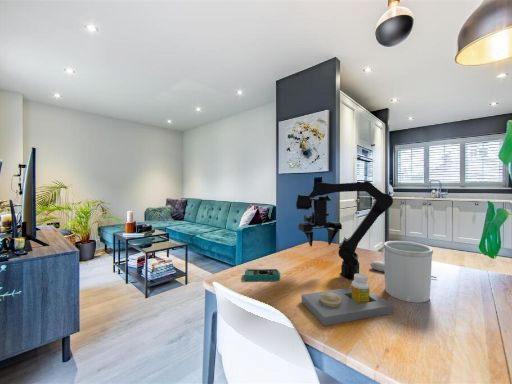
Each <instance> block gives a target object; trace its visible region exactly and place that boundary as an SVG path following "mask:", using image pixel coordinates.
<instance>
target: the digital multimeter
mask: <svg viewBox="0 0 512 384" xmlns="http://www.w3.org/2000/svg"><path fill="white" fill-rule="evenodd" d="M280 280H281V272H280V270H278V269H277V268H261V269H260V268H256V269H254V268H252V269H251V268H248V269H247V268H246V269H245V272H244V281H246V282H252V281H254V282H255V281H258V282H259V281H280Z"/></svg>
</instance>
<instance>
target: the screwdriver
mask: <svg viewBox="0 0 512 384" xmlns="http://www.w3.org/2000/svg"><path fill="white" fill-rule="evenodd" d="M370 267H371V268H372V270H375V271H377V272H384V273H385V261H380V260H377V261H376V260H374V261H371V262H370ZM431 278H434V279H437V278H438V277H436V276H434V275H431Z"/></svg>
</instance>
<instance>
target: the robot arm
mask: <svg viewBox="0 0 512 384" xmlns="http://www.w3.org/2000/svg"><path fill="white" fill-rule="evenodd" d="M343 192H345V193H348V192H366V193H367V194H368V195H370V196H371V197H372V198H373V199H374V200H373V202H372V205H371V207H370V209H369V211H368V212H367V214H366V215H365V216H364V218H363V219H362V220H361V222H360V223H359V225H357V228H355V230H354V232H353V233H352V234H351V235H350V236H349V237H348V238H346V237H344V238H343V240H342V241H341V242H340V243H339V245H338V252H337V253H338V256H339V258H341V259H342V261H341V262H342V263H341V267H340V269H341V272H340V273H339V275H341V276H342V277H344V278H345V279H348V280H349V281H350V280H354V274H360V262H359V254H358V253H356V249H357V247H358V245H359V243H360V242H361V240H362V239H363V238H364V236H365V235H366V233H367V232H368V231H369V230H370V229H371V227H372V226H373V224H374V223H375V222H376V220H377V219H378V218H379V217H380V216H381V215H382V214H384V213H385V212H386V211H387V210H388V209H389V208H390V207H392V205H393V203H394V198H393V197H392V196H391V194H389V193H386V192H382V191H381V190H380V189H378V188H377V187H376V186H375V185H373V184H372V183H371V182H370V181H364V182H363V181H362V182H359V181H358V182H347V183H346V182H345V183H344V182H343V183H331V182H320V181H319V182H316V183H315V184H314V185H313V188H312V191H311V193H309V195H307V194H304V195H303V194H297V199H296V206H295V207H296V209H297V210H298V211H303V210H304V211H310V210H311V209H312V208H313V211H312V213H311V215H310V214H305V215H303V221H304V222H299V224H298V230H300V231H301V232H302V233H304V234H305V237H306V239H307V242H308V244H309V247H312V246H313V240H314V238H313V237H314V231H313V229H314V230H315V229H316V230H317V229H326V230H327V244H328V246H331V245H332V242H333V240H334V238H335V236H336V235H337V233H339V232H340V230H342V229H343V228H342V227H343V225H342V223H341V222H338V221H328V217H329V215H330V213H328V201H329V202H330V201H332V198H331V196H329V194H335V193H343ZM325 195H326V196H325ZM316 197H318V198H316Z"/></svg>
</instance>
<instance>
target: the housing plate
mask: <svg viewBox="0 0 512 384" xmlns="http://www.w3.org/2000/svg"><path fill="white" fill-rule="evenodd" d="M351 294H352V286H350V287H344V288H338V289H330V290H325V291H318V292H311V293H310V292H309V293H302V294H301V303H302V304H303V305H304V306H305V307H306V309H308V310H309V312H310V313H311V314H312V315H313V316H314V317H315V318H316V319H317V320H318V321H319V322H320V323H321V324H322V325H323V327H326V326H333V325H338V324H343V323H348V322H352V321H358V320H364V319H369V318H374V317H379V316H384V315H390V314H393V313H394V304H392V303H391V302H389V301H387V300H386V299H384V298H382V297H381V296H379V295H378V294H376V293H375V292H373V291H369V302H368V303H362V304H357V303H356V302H355V301H353V300H352V299H351Z"/></svg>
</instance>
